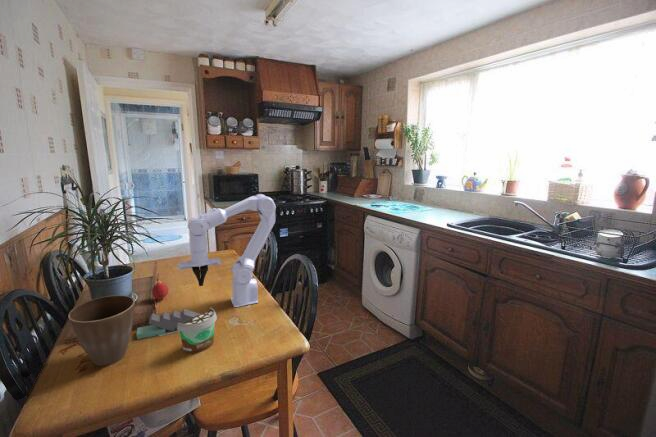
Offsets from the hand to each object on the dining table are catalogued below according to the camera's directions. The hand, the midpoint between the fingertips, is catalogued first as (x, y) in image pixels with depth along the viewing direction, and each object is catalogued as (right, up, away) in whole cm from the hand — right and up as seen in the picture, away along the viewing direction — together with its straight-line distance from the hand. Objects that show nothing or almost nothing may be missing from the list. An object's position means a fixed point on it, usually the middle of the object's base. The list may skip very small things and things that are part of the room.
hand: (201, 284), depth 117 cm
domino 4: (+1, -11, -8) cm, 14 cm away
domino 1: (-7, -12, -13) cm, 18 cm away
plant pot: (-15, -16, -27) cm, 35 cm away
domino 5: (+4, -11, -7) cm, 14 cm away
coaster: (-6, -13, -12) cm, 18 cm away
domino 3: (-1, -11, -10) cm, 15 cm away
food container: (+9, -15, -21) cm, 27 cm away
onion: (-20, -8, +9) cm, 23 cm away
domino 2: (-4, -12, -11) cm, 17 cm away
